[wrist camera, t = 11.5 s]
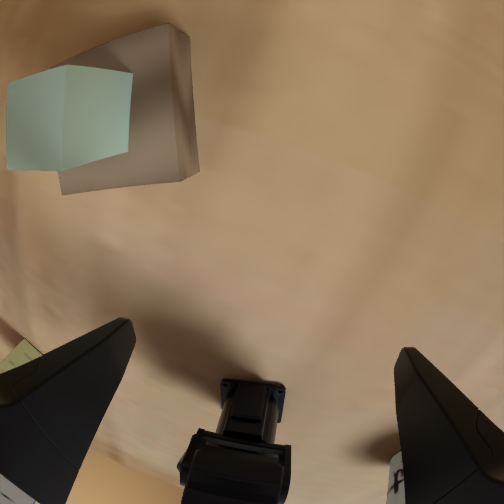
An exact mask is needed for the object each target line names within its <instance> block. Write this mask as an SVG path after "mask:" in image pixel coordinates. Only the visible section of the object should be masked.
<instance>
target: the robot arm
mask: <svg viewBox="0 0 504 504" xmlns="http://www.w3.org/2000/svg"><path fill="white" fill-rule="evenodd" d="M135 343H136V336H135V332H134V328H133V325H132V322H131V320H130V319H127V318H122V317H120V318H117V319H115V320H113V321H111V322H109V323H107V324H105V325H103V326H101V327H99V328H97V329H95V330H93V331H91V332H89V333H87V334H85V335H83V336H81V337H78V338H76V339H74V340H72V341H70V342H68V343H66V344H64V345H62V346H60V347H58V348H56V349H54V350H52V351H50V352H48V353H46V354H44V355H42V356H41V357H38V358H36V359H34V360H31V361H29V362H27V363H25V364H23V365H21V366H18V367H16V368H13V369H11V370H8V371H6V372H3V373H1V374H0V504H35V502H36V501H37V502H38V503H40V504H65V503H66V501H67V498H68V496H69V493H70V491H71V489H72V486H73V483H74V481H75V479H76V477H77V474H78V472H79V469H80V467H81V465H82V462H83V460H84V458H85V456H86V453H87V451H88V449H89V447H90V445H91V442H92V440H93V438H94V436H95V434H96V431H97V429H98V427H99V425H100V423H101V421H102V419H103V417H104V414H105V412H106V410H107V408H108V406H109V404H110V402H111V400H112V398H113V396H114V394H115V392H116V390H117V388H118V386H119V384H120V382H121V380H122V377H123V375H124V373H125V370H126V367H127V364H128V362H129V359H130V356H131V354H132V351H133V349H134V346H135ZM394 381H395V401H396V415H397V422H398V429H399V437H400V445H401V454H402V464H403V475H404V489H405V504H504V432H503V431H502V430H501V429H499V428H498V427H497V426H496V425H495V424H494V423H493V422H492V421H491V420H490V419H489V418H488V417H487V416H486V415H485V414H484V413H483V412H482V411H481V410H478V408H477V407H476V406H475V405H474V404H473V403H472V402H471V401H470V400H469V399H468V398H467V397H466V396H465V395H464V394H463V393H462V392H461V391H460V390H459V389H458V388H457V387H456V386H455V385H454V384H453V383H452V382H451V381H450V380H449V379H448V378H447V377H446V376H445V375H444V374H442V373H441V372H440V371H439V370H438V369H437V368H436V367H435V366H434V365H433V364H432V363H431V362H430V361H429V360H428V359H427V358H425V357H424V356H423V355H422V354H421V353H420V352H419V351H418V350H417V349H416V348H414V347H404V348H402V350H401V352H400V354H399V357H398V359H397V361H396V364H395V367H394ZM220 385H221V396H222V406H223V409H222V413H221V416H220V419H219V423H218V426H217V429H216V433H214V432H209V431H205V429H201V428H199V429H198V431H197V434H194V435H192V438H191V441H190V444H189V446H188V449H187V450H186V452H185V453H184V455H183V456H182V458H181V459H180V461H179V462H178V464H177V469H178V471H179V472H180V485H182V486H185V488H184V492H183V497H182V501H181V504H284V502H285V500H286V498H287V494H288V490H289V486H290V479H291V445H278V444H274V442H275V435H276V428H277V423H280V422H281V417H282V411H283V405H284V398H285V391H286V388H285V387H284V386H278V385H268V384H259V383H251V382H243V381H236V380H229V379H223V380H222V381H221V384H220Z"/></svg>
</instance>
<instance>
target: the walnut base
mask: <svg viewBox="0 0 504 504" xmlns="http://www.w3.org/2000/svg"><path fill="white" fill-rule="evenodd" d="M64 65H76V66H85V67H94V68H101V69H109V70H115V71H121V72H127V73H133V80H132V91H131V103H130V118H129V140H128V152H125V153H122V154H118V155H114V156H111V157H107V158H104V159H100V160H97V161H93V162H90V163H87V164H84V165H81V166H77V167H74V168H71V169H68V170H65V171H58V175H59V181H60V186H61V192H62V195H69V194H75V193H82V192H89V191H97V190H104V189H112V188H121V187H129V186H139V185H149V184H159V183H171V182H181V181H183V180H184V179H186V178H188V177H190V176H192V175H194V174H196V173H198V172H200V169H199V159H198V149H197V138H196V126H195V114H194V101H193V87H192V72H191V55H190V36H188V35H187V34H185V33H183V32H182V31H180V30H179V29H177V28H176V27H174V26H172V25H171V24H169V23H167V24H163V25H159V26H156V27H152V28H149V29H145V30H142V31H139V32H136V33H133V34H130V35H127V36H124V37H121V38H118V39H115V40H113V41H110V42H107V43H105V44H102V45H100V46H97V47H95V48H92V49H90V50H88V51H85V52H83V53H81V54H78V55H76V56H74V57H72V58H70V59H68V60H66V61H64V62H62V63H59V64H57V65H56V66H54V67H52V68H50V69H53V68H56V67H60V66H64Z"/></svg>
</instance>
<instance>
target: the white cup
mask: <svg viewBox="0 0 504 504" xmlns="http://www.w3.org/2000/svg"><path fill="white" fill-rule="evenodd" d="M386 504H405V489H404V475H403V464H402V454H401V451H400V452H398V453H397V454H396V455H394V456H393V457H392V459H391V461H390V471H389V483H388V492H387V501H386Z"/></svg>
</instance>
